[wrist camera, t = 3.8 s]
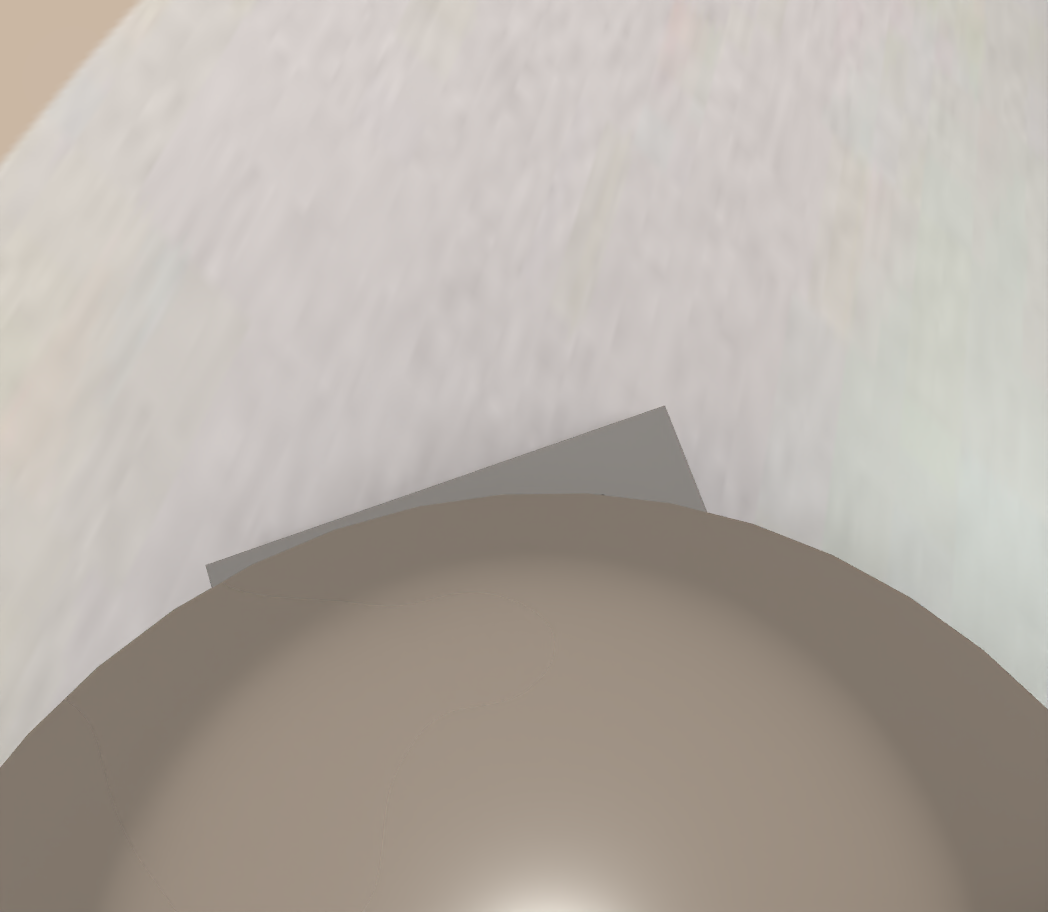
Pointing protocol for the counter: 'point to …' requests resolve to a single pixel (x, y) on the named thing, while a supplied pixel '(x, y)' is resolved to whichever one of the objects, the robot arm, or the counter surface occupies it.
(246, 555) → the socket plate with bumps
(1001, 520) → the counter surface
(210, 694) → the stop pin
